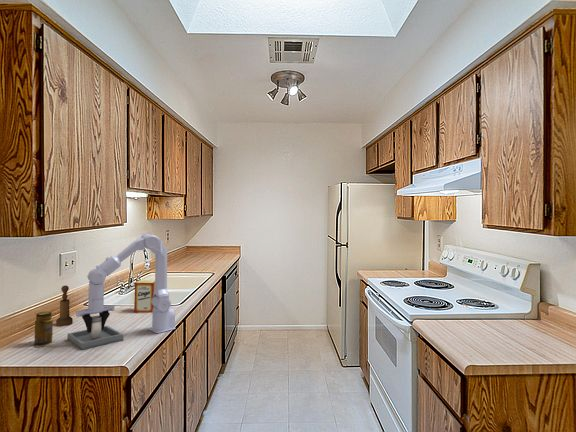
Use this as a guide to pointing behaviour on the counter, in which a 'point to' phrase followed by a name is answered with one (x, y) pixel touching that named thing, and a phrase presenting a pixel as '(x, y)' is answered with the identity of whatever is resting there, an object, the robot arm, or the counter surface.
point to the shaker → (96, 326)
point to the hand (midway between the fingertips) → (95, 330)
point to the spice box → (144, 296)
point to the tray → (85, 342)
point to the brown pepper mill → (64, 309)
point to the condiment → (43, 330)
